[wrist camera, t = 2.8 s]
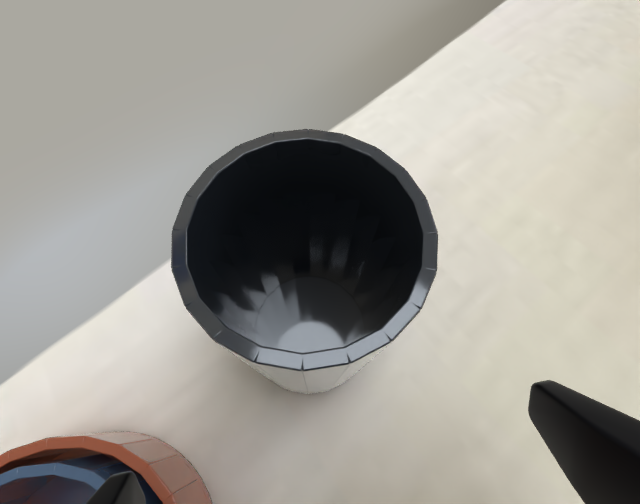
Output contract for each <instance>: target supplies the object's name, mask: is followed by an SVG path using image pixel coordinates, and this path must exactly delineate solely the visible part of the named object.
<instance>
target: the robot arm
mask: <svg viewBox="0 0 640 504" xmlns="http://www.w3.org/2000/svg"><path fill="white" fill-rule="evenodd" d="M528 411H529V416H530V418H531V420H532V422H533V424H534V425H535V427H536V429H537V430H538V432H539V433H540V435H541V437H542V438H543V440H544V441H545V443H546V445H547V446H548V448H549V449H550V451H551V453H552V454H553V456H554V457H555V459H556V461H557V462H558V464H559V465H560V467H561V469H562V470H563V472H564V473H565V475H566V477H567V478H568V480H569V481H570V483H571V484H572V486H573V487H574V489H575V490H576V491H577V493H578V494H579V496H580V497H581V498H582V500H583V501H584V503H585V504H640V421H639V420H637V419H635V418H633V417H630V416H628V415H626V414H624V413H622V412H619V411H617V410H615V409H613V408H611V407H609V406H606V405H604V404H602V403H600V402H598V401H596V400H593V399H591V398H589V397H587V396H585V395H582V394H580V393H578V392H576V391H574V390H572V389H569V388H567V387H565V386H563V385H561V384H559V383H556V382H554V381H551V380H546V381H542V382H537V383H534V384H533V385H532V386H531V391H530V399H529V407H528ZM86 504H146V500H145V495H144V493H143V491H142V489H141V486H140V484H139V482H138V480H137V478H136V475H135V474H134V473H133V472H132V471H127V472H122V473H118V474H114V475H112V476H110V477H109V478H108V479H107V480H106V481H105V482H104V483H103V484H102V485H101V487H100V488H99V489H98V490H97V491H96V492H95V493H94V495H93V496H92V497H91V498H90V499H89V500H88V501H87V503H86Z"/></svg>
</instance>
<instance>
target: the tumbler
mask: <svg viewBox="0 0 640 504" xmlns="http://www.w3.org/2000/svg"><path fill="white" fill-rule="evenodd" d="M437 233H438V232H437V229H436V226H435V223H434V219H433V216H432V213H431V210H430V207H429V204H428V201H427V199H426V197H425V195H424V194H423V193H422V191H421V190H420V188H419V187H418V186H417V184H416V183H415V182H414V180H413V179H412V177H411V176H410V175H409V173H408V172H407V171H406V170H405V169H404V168H403V167H402V166H401V165H399V164H398V163H397V162H395V161H394V160H393V159H391V158H390V157H389V156H388V155H386V154H385V153H384V152H382V151H381V150H380V149H378V148H376V147H375V146H372V145H370V144H367V143H365V142H362V141H360V140H358V139H355V138H353V137H350V136H348V135H345V134H344V135H343V134H341V133H334V132H327V131H320V130H312V129H309V130H308V129H303V130H293V131H283V132H274V133H273V134H272V133H270V134H267V135H265V136H262V137H259V138H256V139H254V140H251V141H248V142H245V143H243V144H240V145H239V146H236V147H235V148H233V149H232V150H231V151H229V152H228V153H226V154H225V155H224V156H222V157H221V158H219V159H218V160H216V161H215V162H213V163H212V164H211V165H209V167H207V168H206V170H205V171H204V172H203V173H202V175H201V176H200V177H199V178H198V180H197V181H196V182H195V183H194V185H193V186H192V187H191V188H190V190H189V191H188V192H187V193H186V196H185V197H184V199H183V202H182V205H181V208H180V210H179V213H178V215H177V218H176V221H175V223H174V226H173V230H172V256H171V268H172V273H173V275H174V278H175V281H176V284H177V286H178V289H179V292H180V295H181V298H182V300H183V303H184V306H185V307H186V309H187V310H188V312H189V313H190V314H191V315H192V316H193V317H194V319H195V320H196V321H197V322H198V323H199V324H200V326H201V327H202V328H203V329H204V330H205V331H206V333H207V334H208V335H209V336H210V337H211V338H212V339H213V340H214V341H215V342H216V343H218V344H219V345H221V346H222V347H223V348H225V349H226V350H228V351H229V352H231V353H232V354H233V355H235V356H236V357H238V358H239V359H240V360H242V361H243V362H245V363H246V364H248V365H249V366H250V367H252V368H253V369H255V370H256V371H258V372H259V373H260V374H262V375H263V376H265V377H266V378H267V379H269V380H270V381H272V382H274V383H275V384H277V385H279V386H281V387H283V388H284V389H286V390H289V391H293V392H297V393H303V394H314V393H321V392H325V391H329V390H331V389H333V388H336V387H337V386H339V385H341V384H343V383H344V382H346V381H347V380H349V379H350V378H351V377H352V376H353V375H355V374H356V373H357V372H358V371H359V370H360V369H361V368H363V367H364V366H365V365H366V364H367V363H368V362H369V361H371V360H372V359H373V358H374V357H375V356H376V355H378V354H379V353H380V352H381V351H382V350H383V349H384V348H386V347H387V346H388V345H389V344H390V343H391V342H393V341H394V340H395V338H396V337H397V336H398V335H399V334H400V333H401V332H402V331H403V330H404V329H405V327H406V326H407V325H408V324H409V323H410V322H411V321H412V320H413V319H414V318H415V317H416V315H417V314H418V313H419V312H420V310H421V309H422V308H423V305H424V303H425V300H426V298H427V295H428V293H429V290H430V288H431V285H432V283H433V281H434V278H435V276H436V271H437V252H438V234H437Z"/></svg>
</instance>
